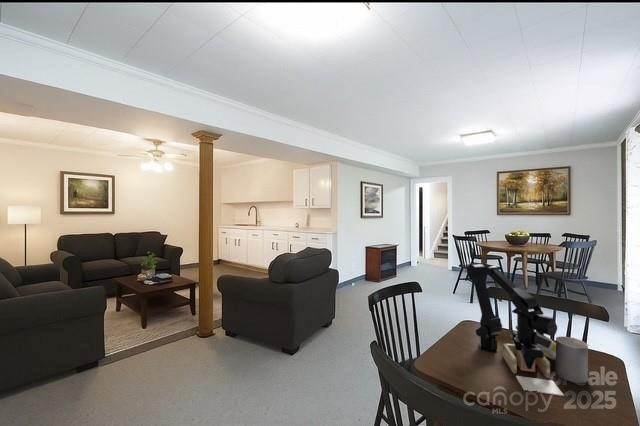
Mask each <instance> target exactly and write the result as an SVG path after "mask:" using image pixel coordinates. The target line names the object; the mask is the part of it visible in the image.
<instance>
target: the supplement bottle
mask: <svg viewBox="0 0 640 426" xmlns="http://www.w3.org/2000/svg"><path fill="white" fill-rule="evenodd" d="M545 336H546V337H548V335H545ZM548 338H549V339H550V340H551V341H552V342H551V345H550V347H549V348H546V347H545V346H542V345H540V344H538V343H537V345H534V346H537V347H538V348H539V349H540V350H541V351H542V352H543V353H544V356H545V357H548V358H550V359H553V360H554V359H555V360H556V341H555V342H554V340H552V339H551V338H550V336H549V337H548Z"/></svg>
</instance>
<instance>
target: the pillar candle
mask: <svg viewBox="0 0 640 426" xmlns="http://www.w3.org/2000/svg"><path fill="white" fill-rule="evenodd" d="M555 343H556V358H555V373H556V375H557V376H558V377H560V378H562V379H563V380H565V381H568V382H570V383H574V384H585V383H587V382H588V380H589V375H588V374H589V353H588V352H589V344H587V342H585V341H583V340H581V339H578V338H575V337H570V336H562V335H561V336H557V337H555Z"/></svg>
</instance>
